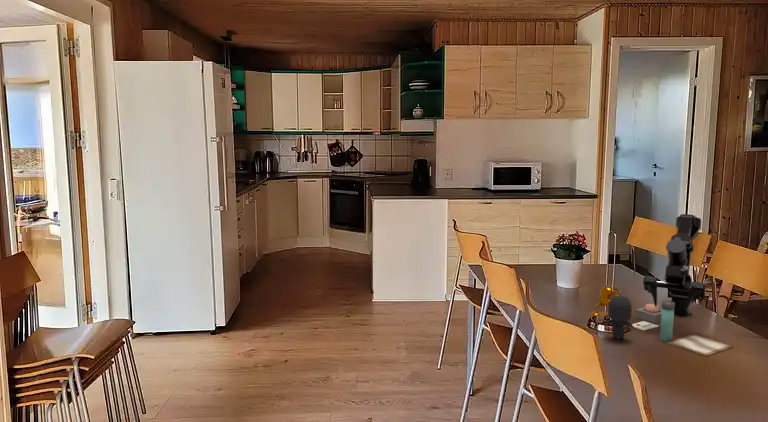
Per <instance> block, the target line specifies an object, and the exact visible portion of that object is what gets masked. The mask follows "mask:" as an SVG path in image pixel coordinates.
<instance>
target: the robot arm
mask: <svg viewBox="0 0 768 422" xmlns="http://www.w3.org/2000/svg"><path fill="white" fill-rule="evenodd" d="M675 229H677V231H676V234H673V235H672V236H671V238H670V240H668V242H667V243H666V246H665V247H666V251H667V257H668V261H667V262H668V263H667V265H666V266H665V273H664V281H658V277H656V276H649V275H648V276H647V275H646V276H644V277H643V281H642V282H643V284H642V285H643V289H644V291H647V293H649V294H650V295H651V296H652V299H653V302H654V303H653V304H655V307H656V306H657V305H658V288H662V289H667V298H668V299H670V298H671V300H670V301H672V302H675V309H674V315H675V316H678V317H682V318H683V317H688V316H691V315H693V312H691V311H689V309H690V308H691V306H692V305H693V304H694V303H695V301H697V300H701V299H705V298H706V291H707V290H706V287H707V285H706V284H705V283H704V282H701V281H693V280H692V277H691V275H690V265H691V259H692V258H691V257H692V253H693V252H694V251H695V246H694V240H695V239H696V238H697V237H698V236H699V232H700V231H701V230H702V219H701V218H699V217H697V216H696V215H693V214H688V213H687V214H685V213H682V214H680V215H679V216H677V217H676V221H675Z"/></svg>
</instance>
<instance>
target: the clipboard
mask: <svg viewBox="0 0 768 422" xmlns="http://www.w3.org/2000/svg"><path fill="white" fill-rule="evenodd" d="M666 344H667V345H670V346H673V347H676V348H679V349H682V350H685V351H687V352H690V353H694V354H697V355H700V356H702V357H705V358H706V357H709V356H713V355H715V354H718V353H721V352H725V351H727V350H730V349H733V348H734V345H732V344H731V345H730V344H728V343H724V342H721V341H717V340H715V339H712V338H711V339H710V338H709V337H705V336H702V335H698V334H695V333H693V334H690V335H687V336H682V337H679V338H676V339H674V340H673V339H672V341H670V342H666Z"/></svg>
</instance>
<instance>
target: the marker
mask: <svg viewBox="0 0 768 422" xmlns="http://www.w3.org/2000/svg"><path fill="white" fill-rule="evenodd" d="M674 309H675V302H672V301H671V300H662V301H661V310H662V315H661V322H660V332H659V333H660V334H659V340H660V341H661V342H664V343H667V342H670V341H673V332H674V319H675V318H674V317H675V316H674Z"/></svg>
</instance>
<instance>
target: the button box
mask: <svg viewBox="0 0 768 422" xmlns="http://www.w3.org/2000/svg"><path fill="white" fill-rule="evenodd" d="M645 308H646V306H644V307H641V308H636V309H635V312H634V313H635V314H634V318H636V319H639V320H642V321H645V322H648V323H651V324H657V323H661V315H662V308H659V312H658V313H650V312H647V311H645Z"/></svg>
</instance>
